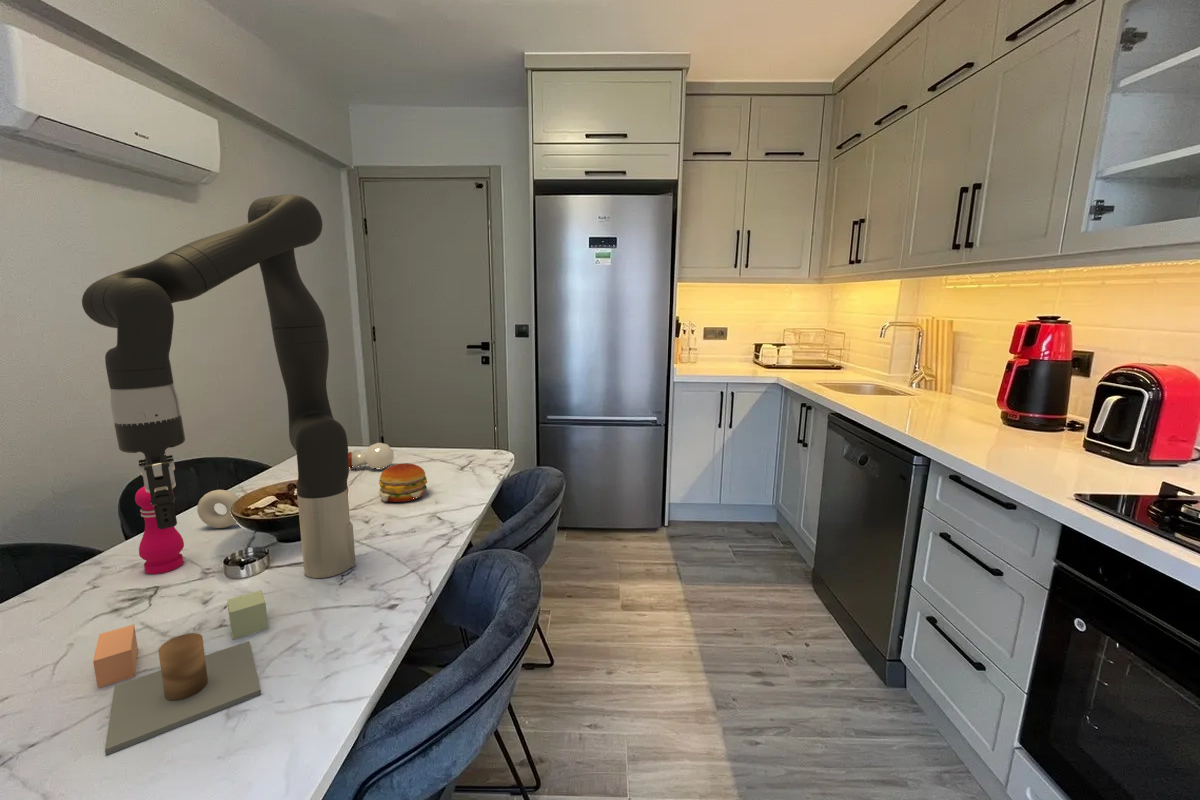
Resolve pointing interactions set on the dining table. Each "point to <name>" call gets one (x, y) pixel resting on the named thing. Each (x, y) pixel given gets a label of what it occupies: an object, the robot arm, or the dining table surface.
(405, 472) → the burger
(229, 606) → the sage cube
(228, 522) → the donut
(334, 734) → the dining table surface
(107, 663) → the terracotta brick
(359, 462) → the potion bottle
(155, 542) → the pepper mill
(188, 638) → the walnut cylinder
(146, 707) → the slate mat
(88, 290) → the robot arm
